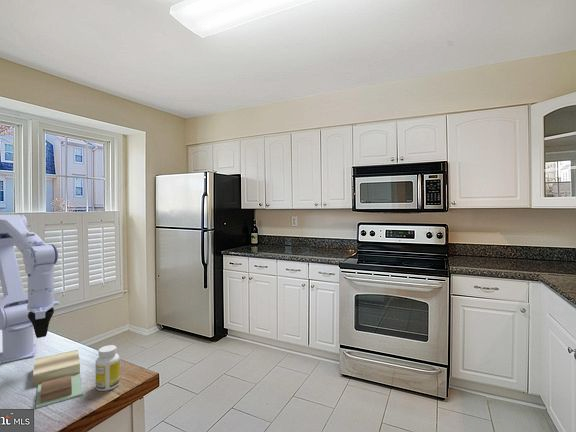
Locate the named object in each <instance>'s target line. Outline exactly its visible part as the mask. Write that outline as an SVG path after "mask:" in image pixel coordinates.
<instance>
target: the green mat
mask: <svg viewBox="0 0 576 432" xmlns="http://www.w3.org/2000/svg"><path fill="white" fill-rule="evenodd" d="M81 379H82V377H81V373H80V374H76V375H72V376H71V383H72V394H71V395H68V396H64V397H61V398H57V399H53V400H50V401H46V402H43V403H41V400H40V394H41V384H42V383H40V384H38V385H37V393H36V401H35V402H36V403H35V409H39V408H43V407H47V406H49V405H53V404H56V403H61V402H63V401H68V400H70V399H74V398H77V397H81V396H83V395H84V392H83V391H84V390H83V385H82V380H81Z"/></svg>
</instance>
